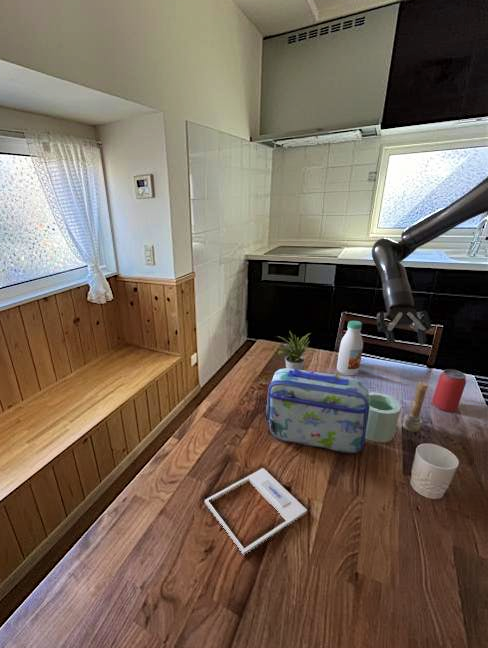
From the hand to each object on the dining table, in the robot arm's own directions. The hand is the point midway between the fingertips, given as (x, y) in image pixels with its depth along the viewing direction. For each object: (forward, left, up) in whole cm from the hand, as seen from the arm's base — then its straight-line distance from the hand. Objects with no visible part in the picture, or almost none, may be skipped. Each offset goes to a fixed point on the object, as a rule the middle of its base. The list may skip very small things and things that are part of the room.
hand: (407, 344), depth 100 cm
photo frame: (+15, +61, -22) cm, 67 cm away
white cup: (-14, +31, -22) cm, 41 cm away
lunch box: (+14, +31, -22) cm, 41 cm away
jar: (+1, +17, -22) cm, 28 cm away
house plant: (+34, -1, -22) cm, 41 cm away
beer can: (-13, -8, -22) cm, 26 cm away
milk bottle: (+18, -13, -22) cm, 31 cm away
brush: (-7, +9, -22) cm, 24 cm away
